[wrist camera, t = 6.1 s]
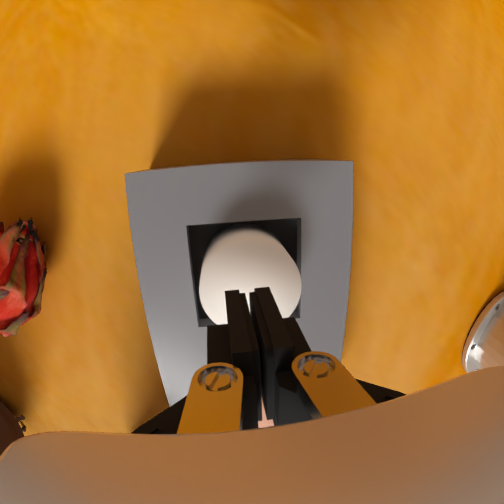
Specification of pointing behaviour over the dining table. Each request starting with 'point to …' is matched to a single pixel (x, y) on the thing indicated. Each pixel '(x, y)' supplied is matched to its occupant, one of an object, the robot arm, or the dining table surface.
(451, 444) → the robot arm
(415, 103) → the dining table surface
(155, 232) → the grey rectangular block
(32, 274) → the dragon fruit
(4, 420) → the alarm clock
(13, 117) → the dining table surface
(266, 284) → the white rounded piece
